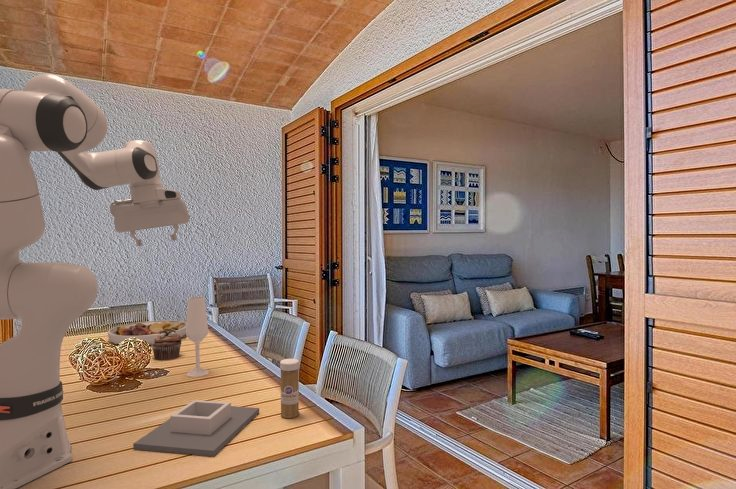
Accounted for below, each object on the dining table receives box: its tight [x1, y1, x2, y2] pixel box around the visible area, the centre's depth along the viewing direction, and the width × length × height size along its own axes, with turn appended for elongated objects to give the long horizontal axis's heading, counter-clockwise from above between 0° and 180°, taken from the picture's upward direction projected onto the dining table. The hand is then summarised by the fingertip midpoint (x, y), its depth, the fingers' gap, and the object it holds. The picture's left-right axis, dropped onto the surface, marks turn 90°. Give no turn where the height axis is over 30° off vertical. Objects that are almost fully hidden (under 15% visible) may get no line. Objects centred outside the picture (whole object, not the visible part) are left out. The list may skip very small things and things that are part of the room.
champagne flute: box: [185, 296, 210, 378], centre depth 144 cm, size 7×7×24 cm
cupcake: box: [151, 329, 182, 361], centre depth 162 cm, size 10×10×10 cm
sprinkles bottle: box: [279, 358, 300, 419], centre depth 111 cm, size 5×5×13 cm
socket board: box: [132, 399, 260, 458], centre depth 103 cm, size 22×18×5 cm
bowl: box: [107, 320, 187, 346], centre depth 190 cm, size 30×30×8 cm
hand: (157, 243), depth 135 cm, fingers open, 8 cm apart
